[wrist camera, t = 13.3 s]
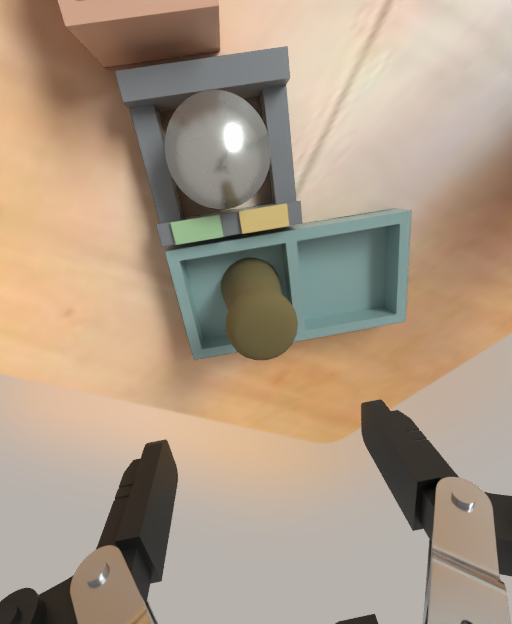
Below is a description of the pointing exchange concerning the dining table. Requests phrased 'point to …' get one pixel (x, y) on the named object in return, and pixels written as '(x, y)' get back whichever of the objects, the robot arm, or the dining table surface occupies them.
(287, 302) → the olive gourd
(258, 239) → the teal divided tray
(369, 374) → the dining table surface
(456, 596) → the robot arm
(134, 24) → the cup
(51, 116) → the dining table surface
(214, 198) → the silver domed disc
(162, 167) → the checker cradle
